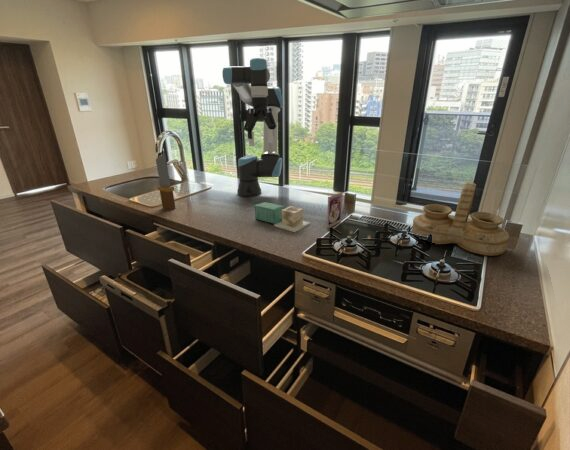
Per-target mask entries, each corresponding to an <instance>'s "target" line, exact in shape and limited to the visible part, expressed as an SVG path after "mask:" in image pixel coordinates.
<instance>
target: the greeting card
mask: <svg viewBox="0 0 570 450" xmlns="http://www.w3.org/2000/svg"><path fill="white" fill-rule="evenodd" d="M343 194H344V193H343V191H341V192H338V193H335V194H333V195H331V196H329V190H328V192H327V213H326V229H329V228H332V227H333V226H335V225H337V224H339V223H341V220H342V208H343V207H342V206H343Z"/></svg>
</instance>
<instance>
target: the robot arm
mask: <svg viewBox="0 0 570 450" xmlns="http://www.w3.org/2000/svg"><path fill="white" fill-rule="evenodd" d="M221 75H222V80H223V83H224V84H225V85H232V86H233V88H234V90H236V92H237V93H238V96H239V98H240V100H241V101H242V102H243V103H244V104H246V105H248V106H250V107H251V108H248V109H247V116H246V120H245V123H244V127H243V131H246V132H247V139H248V146H249V147H255V133H254V131H253V130H254V128H255V126H256V124H257V122H258V120H259V119H262V120H263V152H262V153H261V154H260V157H258V155H254V154H253V155H245V156H242V157H240V158H238V161H237V167H238V178H239V182H238V186H237V187H238V188H237V191H236V194H237V195H238V196H240V197H245V198H246V197H257V196H260V195H261V194H262V188H261V186H260V183H259V178H279V177H280V175H281V172H282V167H283V158H282V157H281V156H280V155H281V154H279V153H278V135H279V133H278V129H279V127H278V125H279V121H278V120H279V118H278V117H279V116H278V115H279V112H281V109H282V108H283V107H284V106H283V105H284V104H283V97H282V91H281V90H282V89H281V88H280V87H279V86H274V85H273V86H268V82H269V81H270V78H271V72H270V70H269V68H268V62H267V59H266V58H264V57H253V58H251V59H249V65H247V66H243V65H241V66H238V65H237V66H233V65H232V66H231V65H230V66H229V65H228V66H224V67H223V68H222V73H221Z"/></svg>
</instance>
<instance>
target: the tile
mask: <svg viewBox="0 0 570 450" xmlns="http://www.w3.org/2000/svg"><path fill="white" fill-rule="evenodd" d="M310 223H311V222H310V221H305V220H303V223H302V224H300V225H298V226H296V227H290V226H287V225H283V224H282V221H281V222H278V223H276V224H273V226H274V227H277V228H279V229H282V230H286V231H290V232H294V233H297V232H298V231H300V230H302V229H304V228H306V227H307V226H309V225H310Z"/></svg>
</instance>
